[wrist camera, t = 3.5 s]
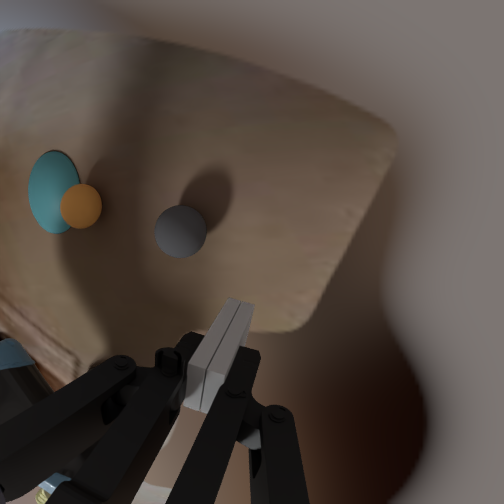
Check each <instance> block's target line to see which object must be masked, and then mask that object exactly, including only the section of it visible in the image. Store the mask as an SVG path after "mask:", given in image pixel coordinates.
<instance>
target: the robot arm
mask: <svg viewBox="0 0 504 504" xmlns="http://www.w3.org/2000/svg"><path fill="white" fill-rule="evenodd" d="M240 304H241V305H240ZM254 306H255V305H254V304H251V303H247V302H243V301H242V303H241V301H240V300H236V299H233V298H228V299H227V301H226V303H225V304H224V306H223V307H222V309H221V311H220V312H219V314H218V316H217V317H216V319H215V320H214V322H213V324H212V325H211V327H210V329H209V330H208V332H207V333H206V335H205V336H204V335H201V334H198V333H195V332H192V331H191V332H189V333H187V334H185V335H184V336H183V337H182V338H181V340H180V342H178V344H177V345H176V347H175V348H170V347H166V348H161V349H158V350H157V351H156V352H155V367H153V368H146V367H139V366H136V363H135V361H134V360H133V359H132V358H130V357H128V356H124V355H116V356H113V357H111V358H109V359H108V360H106V361H105V362H103V363H101V364H100V365H98V366H97V367H94V368H91V369H90V370H89V371H88V372H87V373H85V374H84V375H82V376H80V377H79V378H77V379H76V380H74V381H72V382H71V383H69V384H67V385H66V386H64V387H63V388H61V389H59V390H58V391H56V392H54V391H53V390H52V388H51V387H50V386H49V384H48V383H47V382H46V380H45V379H44V377H43V376H42V374H41V373H40V372H39V370H38V369H37V367H36V366H35V364H34V363H35V362H34V360H32V359H31V358H30V357H29V355H28V354H27V352H26V351H25V349H24V348H23V347H22V345H21V344H20V343H19V342H18V341H17V340H15V339H12V338H8V339H5V340H2V341H0V504H6V502H9V501H12V500H15V499H17V498H19V497H21V496H23V495H24V494H26V493H28V492H30V491H31V490H32V489H34V488H35V487H37V486H39V487H41V488H42V489H44V490H45V491H47V492H48V493H50V494H51V496H50V497H49V498H48V500H47V501H46V502H45V504H131V503H132V501H133V499H134V497H135V495H136V493H137V492H138V490H139V488H140V486H141V484H142V482H143V481H144V479H145V477H146V475H147V473H148V471H149V469H150V468H151V466H152V464H153V462H154V460H155V458H156V456H157V455H158V453H159V451H160V449H161V447H162V445H163V443H164V442H165V440H166V438H167V436H168V434H169V432H170V430H171V428H172V427H173V425H174V423H175V421H176V419H177V417H178V415H179V413H180V406H181V404H182V402H183V400H184V406H186V407H188V408H191V409H194V410H197V411H199V410H200V408H201V410H200V411H201V412H203V413H206V414H207V416H206V418H205V420H204V422H203V424H202V427H201V429H200V431H199V433H198V435H197V437H196V440H195V442H194V444H193V446H192V448H191V450H190V453H189V455H188V457H187V459H186V461H185V463H184V465H183V468H182V470H181V472H180V474H179V476H178V478H177V480H176V482H175V484H174V487H173V489H172V491H171V493H170V495H169V497H168V499H167V501H166V503H165V504H214V502H215V499H216V497H217V494H218V491H219V488H220V485H221V483H222V480H223V477H224V474H225V471H226V468H227V465H228V462H229V459H230V456H231V453H232V450H233V448H234V444H235V442H236V441H238V442H240V443H241V444H243V445H245V446H246V447H248V448H249V470H250V492H251V504H310V503H309V498H308V492H307V487H306V481H305V476H304V470H303V465H302V460H301V454H300V449H299V444H298V438H297V433H296V427H295V422H294V417H293V415H292V413H291V412H290V411H289V410H288V409H287V408H285V407H283V406H280V405H269V406H267V407H265V406H263V405H261V404H259V403H258V402H257V401H256V400H255V399H254V398H253V396H252V393H251V391H252V387H253V383H254V380H255V377H256V373H257V370H258V366H259V363H260V360H261V356H260V353H259V351H257V350H254V349H250V348H247V347H244V346H245V343H246V339H247V335H248V331H249V327H250V323H251V319H252V315H253V310H254Z"/></svg>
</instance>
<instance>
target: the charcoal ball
mask: <svg viewBox="0 0 504 504" xmlns="http://www.w3.org/2000/svg"><path fill="white" fill-rule="evenodd" d="M206 233H207V230H206V224H205V221H204V219H203V217H202V216H201V215H200V213H199V212H197V211H196V210H195V209H193V208H191V207H188V206H184V205H178V206H173V207H170V208H168V209H167V210H165V211H164V212H163V213H162V214H161V215H160V216H159V218H158V220H157V222H156V225H155V239H156V242H157V244H158V246H159V247H160V249H161V250H162V251H163V252H165V253H166V254H168V255H170V256H172V257H176V258H185V257H189V256H191V255H193V254H195V253H196V252H198V251H199V250H200V248H201V247H202V246H203V244H204V242H205V239H206Z"/></svg>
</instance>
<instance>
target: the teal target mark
mask: <svg viewBox="0 0 504 504" xmlns="http://www.w3.org/2000/svg"><path fill="white" fill-rule="evenodd" d="M77 184H80V181H79V177H78V174H77V171H76V169H75V167H74V165H73V163H72V162H71V161H70V159H69V158H68V157H67V156H65V155H64V154H62V153H60V152H56V151H52V152H48V153H45V154H44V155H42V156H41V157H40V158H39V159H38V160H37V162H36V163H35V165H34V167H33V169H32V172H31V175H30V179H29V187H28V193H29V202H30V206H31V209H32V212H33V215H34V217H35V218H36V220H37V222H38V223H39V224H40V225H41V227H43V228H44V229H45V230H46V231H48V232H50V233H54V234H58V233H62V232H65V231H66V230H68V229H69V228H70V227H71V226H70V225H68V224H67V223H66V222H65V220H64V219H63V217H62V215H61V211H60V204H61V200H62V197H63V195H64V193H65V192H66V191H67V190H68V189H69V188H71V187H72V186H74V185H77Z"/></svg>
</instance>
